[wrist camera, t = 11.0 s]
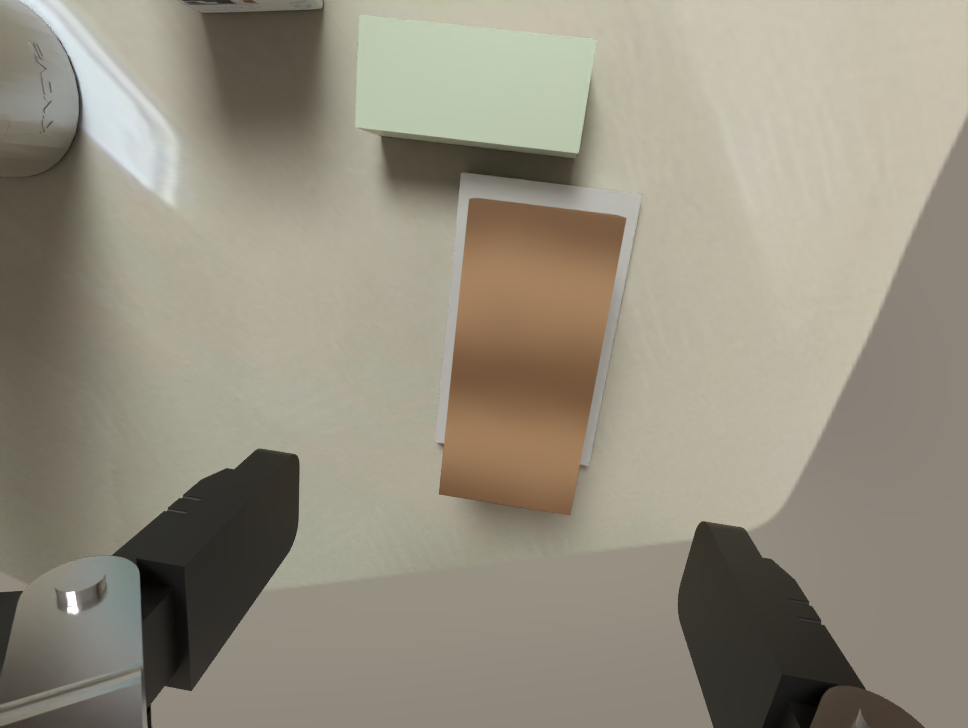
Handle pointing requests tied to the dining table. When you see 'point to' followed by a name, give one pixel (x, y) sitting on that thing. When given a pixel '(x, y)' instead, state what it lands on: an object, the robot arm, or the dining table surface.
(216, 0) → the light bulb box
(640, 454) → the dining table surface
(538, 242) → the board
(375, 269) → the dining table surface
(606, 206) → the peg stand
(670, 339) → the dining table surface
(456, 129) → the block
